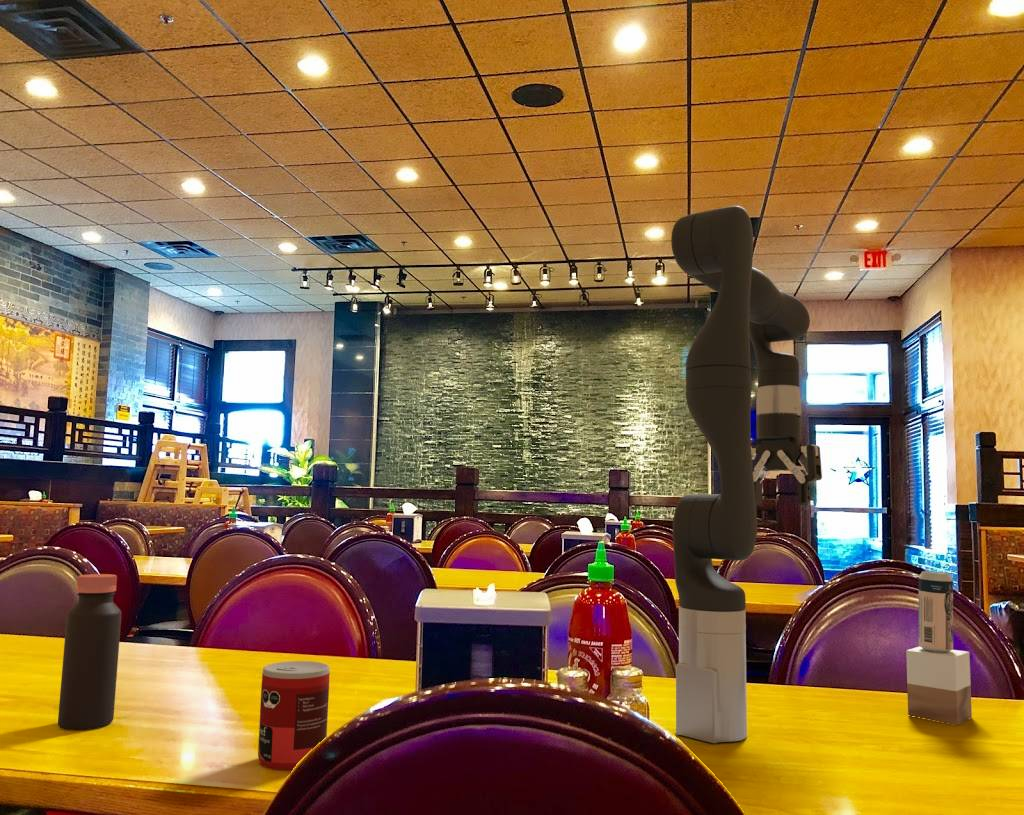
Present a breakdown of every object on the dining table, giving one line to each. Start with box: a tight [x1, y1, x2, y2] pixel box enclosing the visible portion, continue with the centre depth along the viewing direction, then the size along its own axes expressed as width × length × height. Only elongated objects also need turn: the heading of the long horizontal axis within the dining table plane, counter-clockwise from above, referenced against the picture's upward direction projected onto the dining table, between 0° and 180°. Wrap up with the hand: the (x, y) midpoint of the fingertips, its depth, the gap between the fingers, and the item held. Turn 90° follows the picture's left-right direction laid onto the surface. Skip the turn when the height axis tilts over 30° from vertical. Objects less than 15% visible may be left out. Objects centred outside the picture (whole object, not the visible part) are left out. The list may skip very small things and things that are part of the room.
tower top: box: [905, 645, 972, 691], centre depth 128 cm, size 7×7×5 cm
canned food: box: [257, 660, 330, 771], centre depth 99 cm, size 8×8×11 cm
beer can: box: [918, 570, 954, 653], centre depth 129 cm, size 5×5×12 cm
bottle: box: [57, 573, 122, 731], centre depth 113 cm, size 7×7×20 cm
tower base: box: [906, 684, 973, 726], centre depth 127 cm, size 7×7×5 cm
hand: (779, 505), depth 143 cm, fingers open, 8 cm apart
